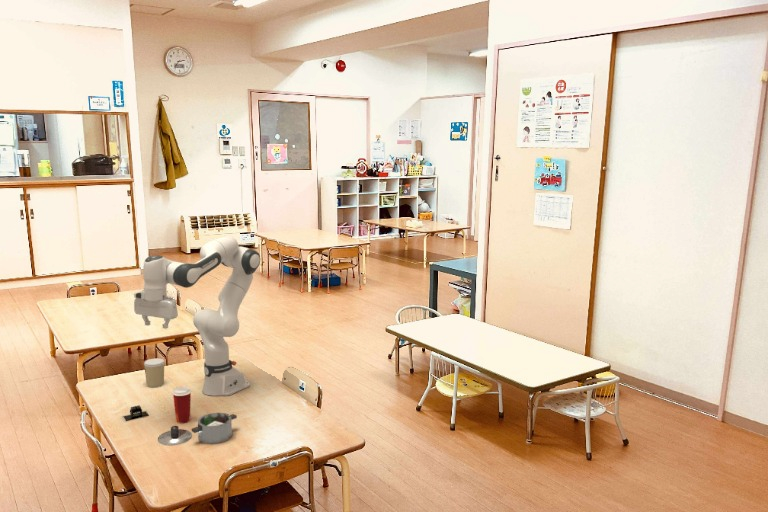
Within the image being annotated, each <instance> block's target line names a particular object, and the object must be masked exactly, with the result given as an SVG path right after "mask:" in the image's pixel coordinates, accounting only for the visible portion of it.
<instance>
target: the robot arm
mask: <svg viewBox="0 0 768 512" xmlns="http://www.w3.org/2000/svg"><path fill="white" fill-rule="evenodd" d="M199 256H200V260H198V261H196V262H195V263H194V262H193V263H186V262H179V261H174V260H171V259H168V258H165V257H164V256H163V255H160V254H155V255H154V254H153V255H149V256H148V257H146V258H145V259H144V261H143V267H142V268H143V269H142V273H143V274H142V276H143V277H142V278H143V281H144V284H143V289H142V290H141V291H137V292H135V293H134V294H133V296H134V301H133V311H134V313H135V314H136V315H141V318H142V320H143V322H144V326H147V327H148V326H150V325H151V320H149V317H153V318H159V319H163V321H164V323H163V324H162V329H166V330H167V329H168V328H169V323H170V322H171V320H174V319H177V317H178V315H179V314H178V313H179V312H178V305H177V301H176V299H175V298H174V297H173V296H168V295H167V293H168V292H167V284H170V285H174V286H179V287H182V288H191V287H193V286H194V285H195V284H197V282H198V281H199V280H200V279H201V278H202V277H203V276H205V275H207V274H208V273H210V272H212V271H213V270H214V269H216V268H217V267H218V266H219V265H222V266H225V267H228V268H231V269H232V271H231V274H230V276H229V277H228V279H227V280H226V282H225V284H224V285H223V287H222V289H221V290H220V292H219V294H218V296H217V299H218V301H219V308H218V309H217V310H215V309H214V310H213V309H210V308H209V309H208V308H207V309H205V308H204V309H203V308H202V309H199V310H197V312H195V314H194V315H193V319H192V322H193V323H192V324H193V326H194V327H195V329H197V331H198V333H199V335H200V339H201V341H202V344H203V348H204V351H203V352H204V363H203V370H204V382H203V387H202V391H201V392H202V394H204V395H207V396H213V397H215V396H217V397H218V396H222V397H223V396H227V397H228V396H231V395H233V394H235V393H238V392H241V391H242V390H244V389H246V388H249V387H250V382H249V381H248V380H247V379H246V378H245V375H244V373H243V372H242V371H240V370H238V369H237V368H235V367H236V365H237V361H235V360H231V359H230V350H229V349H230V346H229V344H228V342H227V341H226V340H225V338H232V337H234V336H235V335H236V334H237V333H239V330H240V329H239V328H240V321H239V319H238V318H239V317H238V313H239V308H240V306H241V304H242V302H243V300H244V298H245V297H246V295H247V293H248V291H249V289H250V287H251V285H252V282H253V279H254V275H253V274H254V273H255V272H256V271H257V270H258V268H259V266H260V265H261V255H260V253H259V252H258V251H257V250H255V249H254V248H248V247H244V246H239V243H238V240H237V239H236V238H235V237H234V236H231V235H224V236H220V237H218V238H215V239H212V240H210V241H207V242H206V243H204V244H203V245H202V246H201V247H200V250H199ZM234 366H235V367H234Z"/></svg>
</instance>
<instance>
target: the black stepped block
mask: <svg viewBox="0 0 768 512" xmlns="http://www.w3.org/2000/svg"><path fill="white" fill-rule="evenodd" d="M129 413H130V414H128V415H123V416H122V417H123V419H124V420H125V421H126V422H129V421H134V420H136V419H141V418H146V417H149V416H150V415H149V413H148V412H147V411H143V409H142V407H141V406H140V405H134V406H131V407H130V409H129Z"/></svg>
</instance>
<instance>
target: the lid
mask: <svg viewBox="0 0 768 512" xmlns="http://www.w3.org/2000/svg"><path fill="white" fill-rule="evenodd" d="M192 438H193V432H192V431H190V430H187V429H183V428H182V429H180V428H179V426H178V425H172V426H171V427H170V430H167V431H164V432H163V433H161V434H159V436H157V443H159V444H160V445H162V446H179V445H182V444H185V443H186V442H187V443H188V442H189V441H190V440H192Z"/></svg>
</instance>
